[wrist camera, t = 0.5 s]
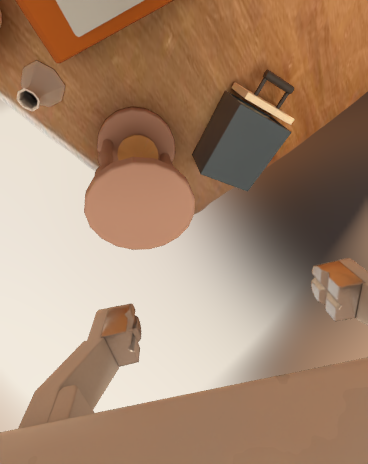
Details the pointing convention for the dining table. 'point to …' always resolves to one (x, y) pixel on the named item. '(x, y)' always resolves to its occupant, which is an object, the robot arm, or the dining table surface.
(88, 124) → the dining table surface
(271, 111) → the drawer
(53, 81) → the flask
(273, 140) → the cabinet
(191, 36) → the dining table surface
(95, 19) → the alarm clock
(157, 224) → the hourglass
